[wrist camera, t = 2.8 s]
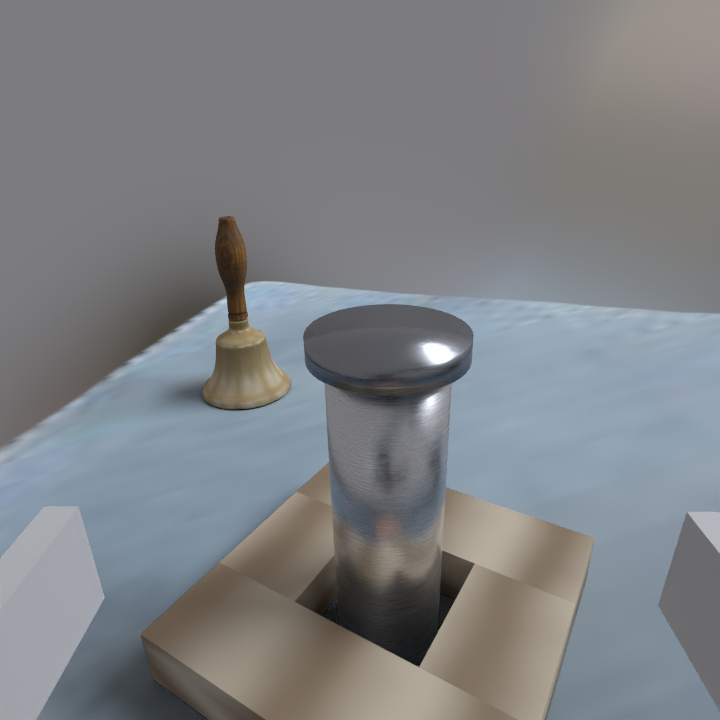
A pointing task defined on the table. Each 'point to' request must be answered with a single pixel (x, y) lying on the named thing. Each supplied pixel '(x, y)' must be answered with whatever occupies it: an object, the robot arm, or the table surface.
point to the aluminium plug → (388, 462)
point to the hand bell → (240, 337)
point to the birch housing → (359, 656)
